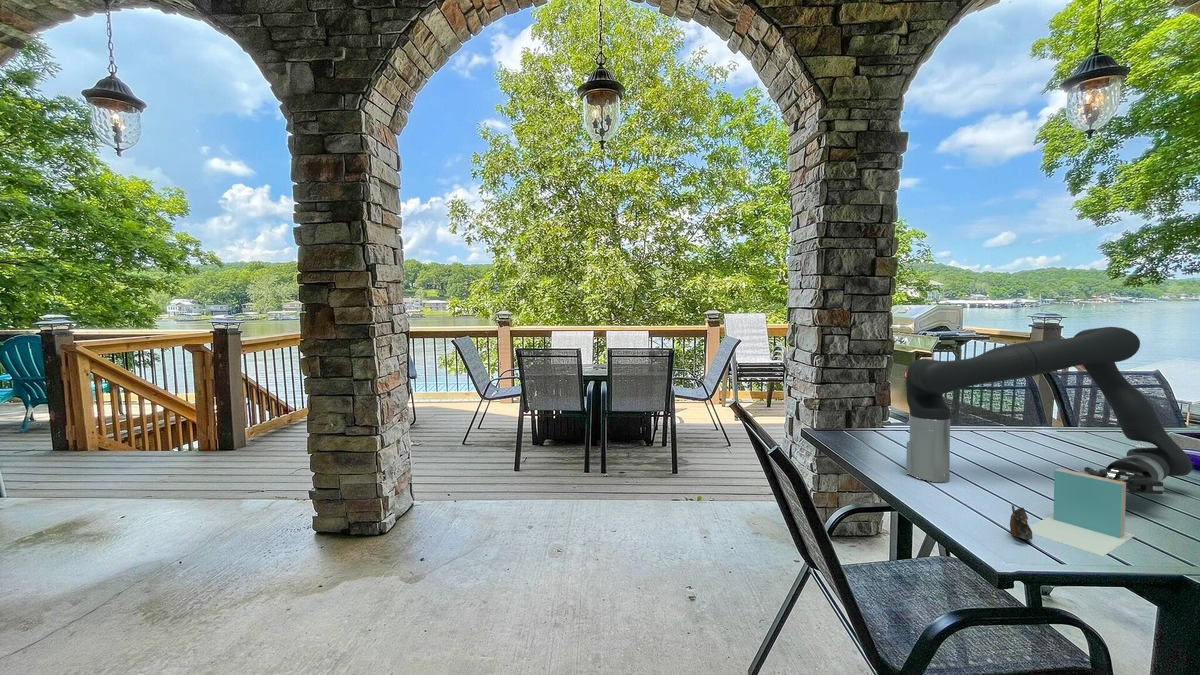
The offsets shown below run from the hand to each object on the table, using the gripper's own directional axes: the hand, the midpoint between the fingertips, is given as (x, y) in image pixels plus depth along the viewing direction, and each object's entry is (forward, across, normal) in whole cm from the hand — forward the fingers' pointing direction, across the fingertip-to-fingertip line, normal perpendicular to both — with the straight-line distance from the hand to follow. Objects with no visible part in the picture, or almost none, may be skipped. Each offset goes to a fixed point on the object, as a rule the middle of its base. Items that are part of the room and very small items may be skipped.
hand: (1107, 487), depth 102 cm
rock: (+29, -4, +7) cm, 30 cm away
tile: (+10, 0, +7) cm, 12 cm away
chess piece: (-46, -6, +8) cm, 47 cm away
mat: (+15, 0, +7) cm, 17 cm away
